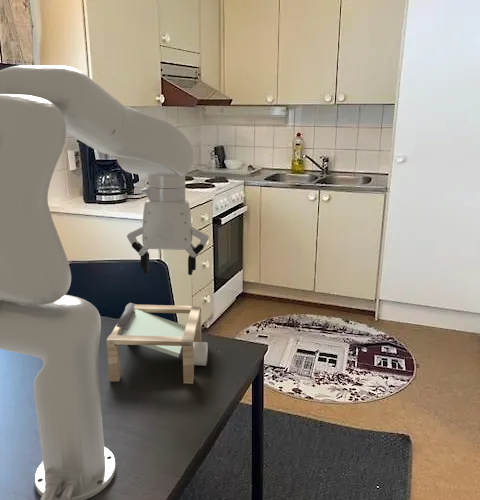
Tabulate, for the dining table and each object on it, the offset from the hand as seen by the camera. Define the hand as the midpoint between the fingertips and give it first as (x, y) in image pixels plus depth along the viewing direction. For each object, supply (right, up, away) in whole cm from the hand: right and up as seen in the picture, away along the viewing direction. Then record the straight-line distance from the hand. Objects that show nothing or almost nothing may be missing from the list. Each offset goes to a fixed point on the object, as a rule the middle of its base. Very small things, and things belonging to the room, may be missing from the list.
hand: (168, 272), depth 108 cm
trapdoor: (-5, -14, +5) cm, 16 cm away
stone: (+3, -19, +6) cm, 20 cm away
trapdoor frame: (-3, -21, +8) cm, 22 cm away
